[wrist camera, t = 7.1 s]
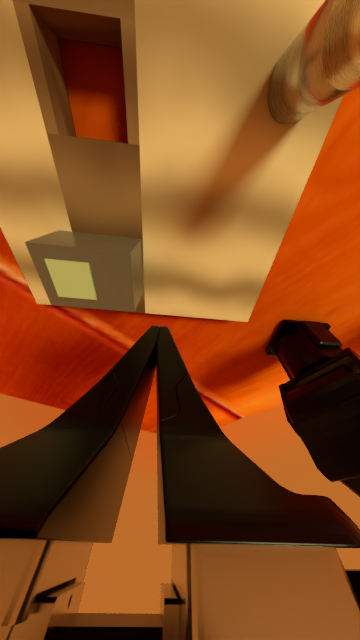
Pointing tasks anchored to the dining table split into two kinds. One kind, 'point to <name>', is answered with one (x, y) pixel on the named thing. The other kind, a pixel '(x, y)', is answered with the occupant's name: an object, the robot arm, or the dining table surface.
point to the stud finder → (89, 269)
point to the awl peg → (318, 63)
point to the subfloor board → (160, 143)
